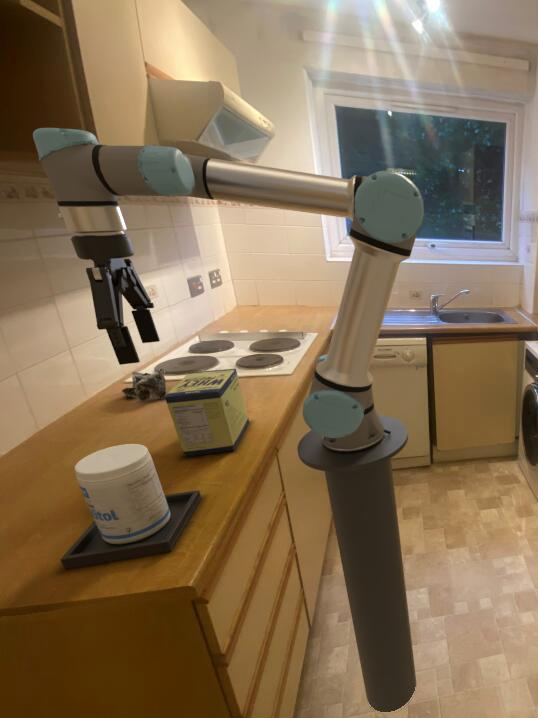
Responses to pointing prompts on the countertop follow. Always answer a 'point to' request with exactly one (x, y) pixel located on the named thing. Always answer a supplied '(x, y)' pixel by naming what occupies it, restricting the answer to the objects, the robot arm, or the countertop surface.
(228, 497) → the countertop surface
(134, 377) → the grey furry lump
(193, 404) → the protein box
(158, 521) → the supplement tub
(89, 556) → the pad
